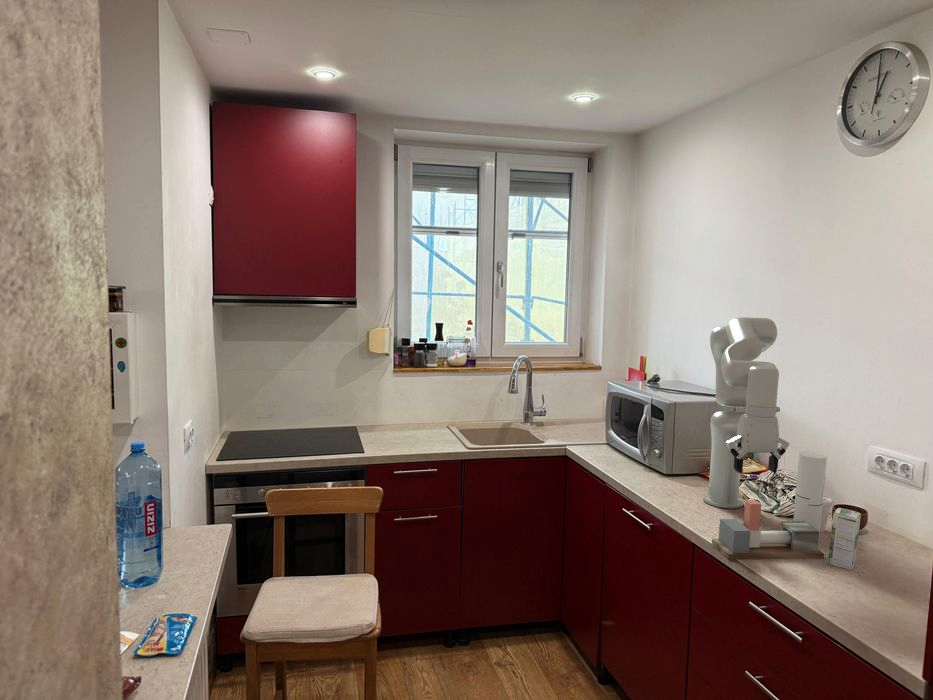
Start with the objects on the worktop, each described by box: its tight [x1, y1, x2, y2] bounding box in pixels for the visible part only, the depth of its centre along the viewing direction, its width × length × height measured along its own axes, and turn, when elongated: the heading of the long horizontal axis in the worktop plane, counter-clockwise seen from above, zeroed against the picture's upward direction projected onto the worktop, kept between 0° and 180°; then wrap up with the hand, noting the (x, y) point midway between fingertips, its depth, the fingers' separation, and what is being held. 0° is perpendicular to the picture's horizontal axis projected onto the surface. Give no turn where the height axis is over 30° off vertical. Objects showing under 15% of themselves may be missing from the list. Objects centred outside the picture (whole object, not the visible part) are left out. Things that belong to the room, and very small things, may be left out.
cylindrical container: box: [792, 450, 828, 538], centre depth 185 cm, size 7×7×25 cm
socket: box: [718, 518, 750, 553], centre depth 175 cm, size 8×4×6 cm, turn 3°
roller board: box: [711, 520, 825, 561], centre depth 175 cm, size 10×27×7 cm, turn 93°
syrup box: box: [827, 507, 862, 571], centre depth 168 cm, size 6×6×14 cm
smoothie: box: [820, 496, 833, 533], centre depth 191 cm, size 6×6×14 cm
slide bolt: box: [743, 499, 792, 547], centre depth 175 cm, size 5×16×12 cm, turn 93°
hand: (755, 471), depth 173 cm, fingers open, 9 cm apart
